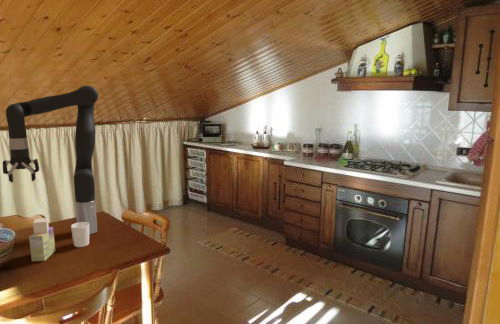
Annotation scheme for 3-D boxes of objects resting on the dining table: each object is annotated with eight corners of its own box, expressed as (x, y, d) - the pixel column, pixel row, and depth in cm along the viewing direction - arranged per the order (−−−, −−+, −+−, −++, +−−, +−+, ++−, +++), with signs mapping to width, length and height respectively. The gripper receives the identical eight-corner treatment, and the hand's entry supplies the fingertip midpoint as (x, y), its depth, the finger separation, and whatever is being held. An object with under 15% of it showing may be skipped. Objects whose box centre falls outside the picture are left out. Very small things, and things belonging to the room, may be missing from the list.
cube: (48, 228, 162) (47, 217, 161) (47, 232, 157) (46, 221, 156) (36, 229, 160) (35, 219, 159) (34, 233, 156) (33, 222, 155)
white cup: (94, 242, 176) (92, 223, 174) (81, 249, 169) (80, 228, 167) (81, 240, 179) (80, 221, 177) (68, 246, 171) (67, 226, 169)
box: (42, 251, 166) (40, 226, 163) (55, 251, 166) (53, 226, 164) (31, 261, 156) (28, 236, 153) (44, 261, 156) (42, 235, 154)
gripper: (38, 145, 173) (41, 178, 176) (3, 146, 168) (6, 180, 171) (35, 148, 166) (38, 182, 169) (-2, 149, 161) (2, 184, 164)
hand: (22, 181), depth 170 cm, fingers open, 8 cm apart
